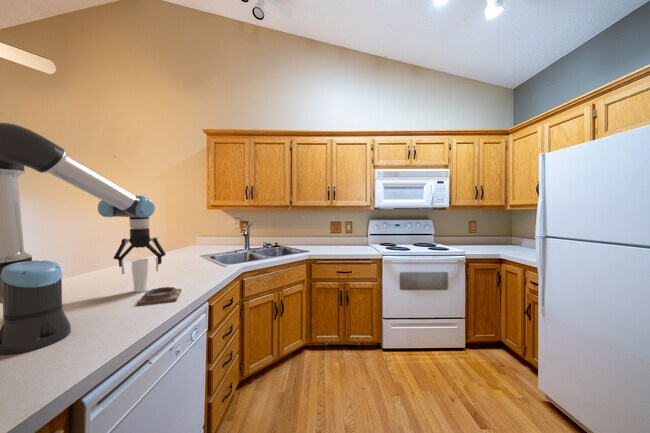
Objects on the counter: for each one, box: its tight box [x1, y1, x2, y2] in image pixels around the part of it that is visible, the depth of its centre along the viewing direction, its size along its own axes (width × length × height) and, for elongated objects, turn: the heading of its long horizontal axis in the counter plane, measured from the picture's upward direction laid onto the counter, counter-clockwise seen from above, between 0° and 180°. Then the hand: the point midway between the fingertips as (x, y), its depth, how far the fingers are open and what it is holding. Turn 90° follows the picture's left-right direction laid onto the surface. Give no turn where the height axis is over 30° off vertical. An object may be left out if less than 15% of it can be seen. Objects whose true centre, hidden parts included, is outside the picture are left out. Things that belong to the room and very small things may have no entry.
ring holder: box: [136, 286, 182, 307], centre depth 112 cm, size 14×14×3 cm
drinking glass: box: [131, 258, 150, 293], centre depth 121 cm, size 7×7×15 cm
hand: (141, 272), depth 121 cm, fingers open, 13 cm apart
